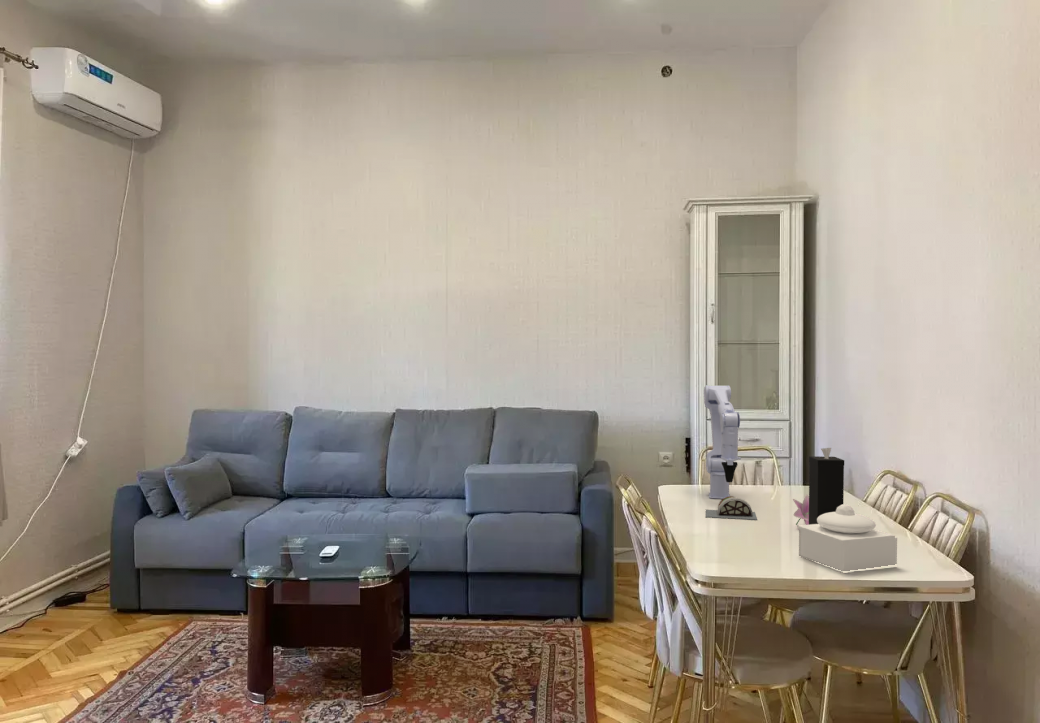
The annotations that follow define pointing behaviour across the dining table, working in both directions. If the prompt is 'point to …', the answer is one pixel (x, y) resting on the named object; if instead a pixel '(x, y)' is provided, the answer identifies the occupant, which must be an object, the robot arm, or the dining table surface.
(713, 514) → the mat
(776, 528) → the dining table surface
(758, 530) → the dining table surface
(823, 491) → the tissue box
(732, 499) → the food container
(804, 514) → the lily
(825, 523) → the butter dish
